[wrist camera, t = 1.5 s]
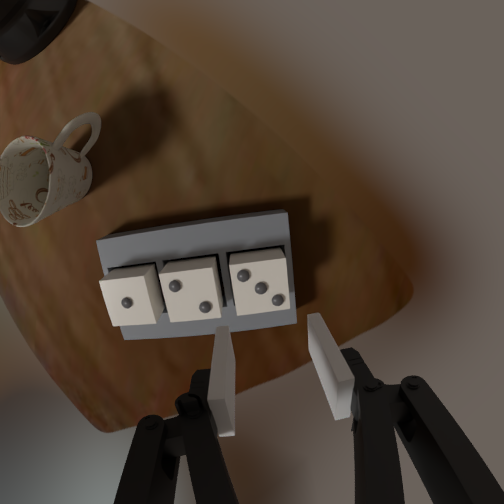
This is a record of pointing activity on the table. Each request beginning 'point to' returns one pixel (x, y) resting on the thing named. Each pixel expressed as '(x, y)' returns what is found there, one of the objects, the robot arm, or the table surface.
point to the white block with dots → (259, 281)
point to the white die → (192, 289)
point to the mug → (44, 174)
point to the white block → (133, 295)
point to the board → (196, 244)
